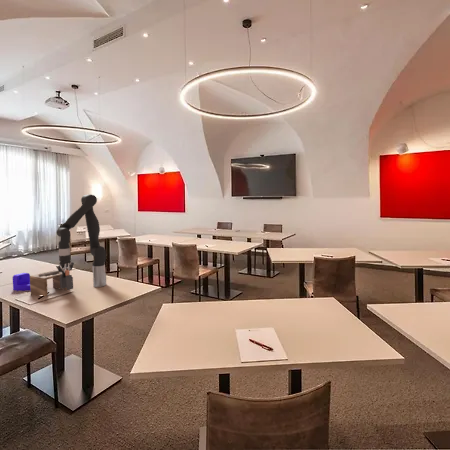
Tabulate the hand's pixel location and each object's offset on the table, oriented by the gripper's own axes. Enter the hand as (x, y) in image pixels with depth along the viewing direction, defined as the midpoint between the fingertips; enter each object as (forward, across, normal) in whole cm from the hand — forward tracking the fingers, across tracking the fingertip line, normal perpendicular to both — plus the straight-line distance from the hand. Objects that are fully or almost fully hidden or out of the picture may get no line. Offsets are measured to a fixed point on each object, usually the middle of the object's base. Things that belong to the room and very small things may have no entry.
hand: (66, 276), depth 220 cm
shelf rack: (+13, +2, -15) cm, 20 cm away
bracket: (+13, +4, -38) cm, 41 cm away
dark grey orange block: (+9, 0, 0) cm, 9 cm away
